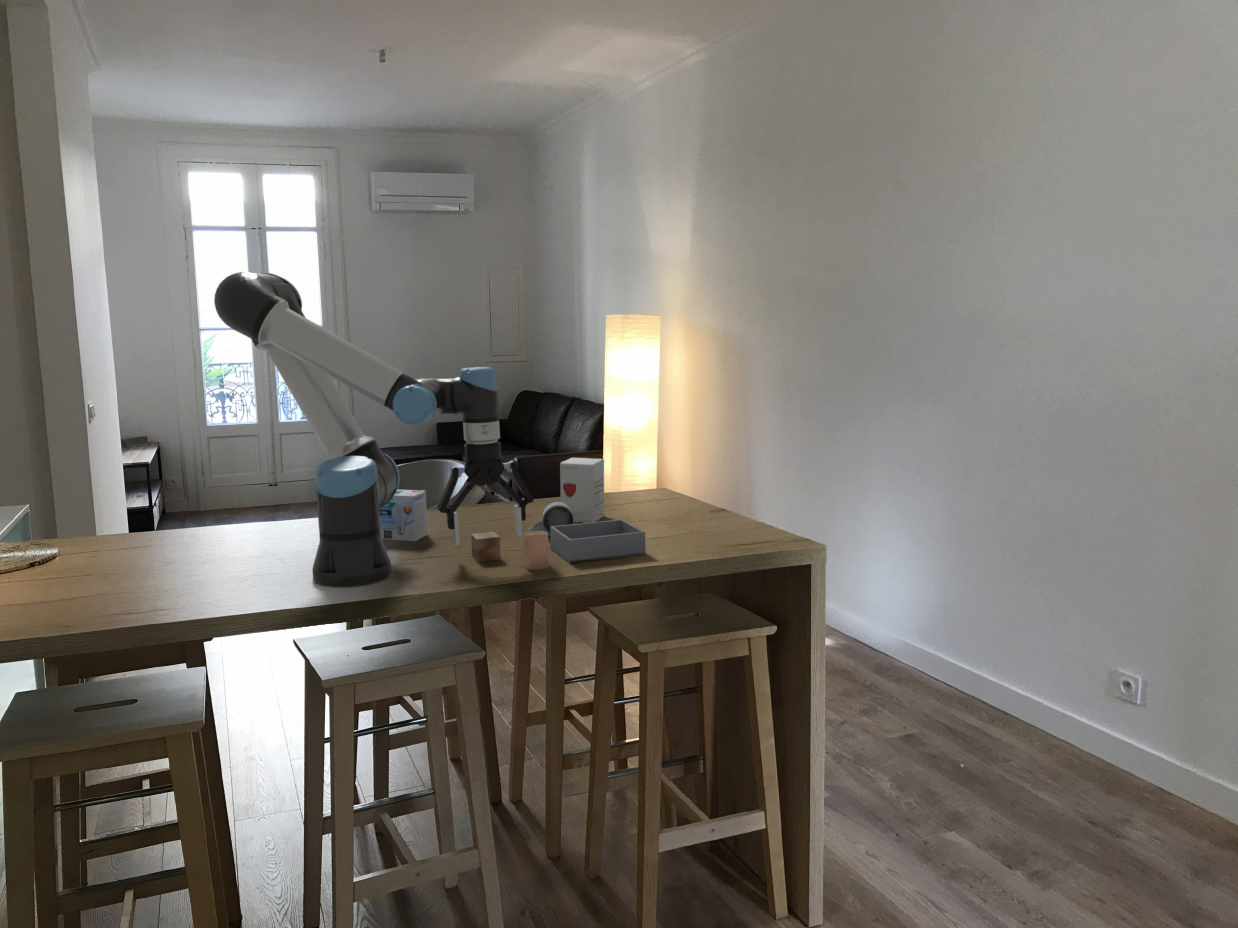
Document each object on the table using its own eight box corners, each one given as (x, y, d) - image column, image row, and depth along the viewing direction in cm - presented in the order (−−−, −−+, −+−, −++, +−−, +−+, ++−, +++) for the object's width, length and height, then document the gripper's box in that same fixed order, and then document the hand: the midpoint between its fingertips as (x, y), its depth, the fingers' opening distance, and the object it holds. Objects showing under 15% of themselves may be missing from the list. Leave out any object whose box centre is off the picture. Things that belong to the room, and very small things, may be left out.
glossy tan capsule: (528, 571, 189) (527, 537, 188) (521, 564, 194) (520, 532, 192) (552, 568, 191) (551, 535, 190) (544, 562, 195) (544, 529, 194)
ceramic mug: (573, 528, 224) (571, 497, 223) (575, 537, 216) (574, 504, 215) (528, 531, 223) (527, 499, 222) (529, 539, 215) (528, 507, 214)
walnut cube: (477, 562, 196) (476, 539, 195) (472, 556, 201) (471, 533, 200) (500, 559, 198) (499, 536, 197) (494, 553, 203) (494, 531, 202)
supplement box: (559, 522, 232) (558, 462, 229) (571, 514, 240) (570, 456, 237) (594, 524, 229) (593, 464, 226) (605, 516, 237) (604, 458, 235)
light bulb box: (373, 539, 216) (371, 493, 215) (387, 532, 223) (385, 488, 221) (416, 541, 214) (413, 495, 212) (428, 534, 220) (426, 489, 218)
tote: (569, 563, 194) (568, 540, 193) (550, 548, 206) (550, 526, 205) (645, 554, 200) (645, 532, 199) (622, 540, 212) (622, 519, 212)
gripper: (425, 448, 187) (432, 551, 191) (544, 438, 196) (549, 536, 200) (419, 444, 194) (426, 542, 198) (534, 434, 203) (539, 529, 207)
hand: (488, 539), depth 199 cm, fingers open, 13 cm apart
